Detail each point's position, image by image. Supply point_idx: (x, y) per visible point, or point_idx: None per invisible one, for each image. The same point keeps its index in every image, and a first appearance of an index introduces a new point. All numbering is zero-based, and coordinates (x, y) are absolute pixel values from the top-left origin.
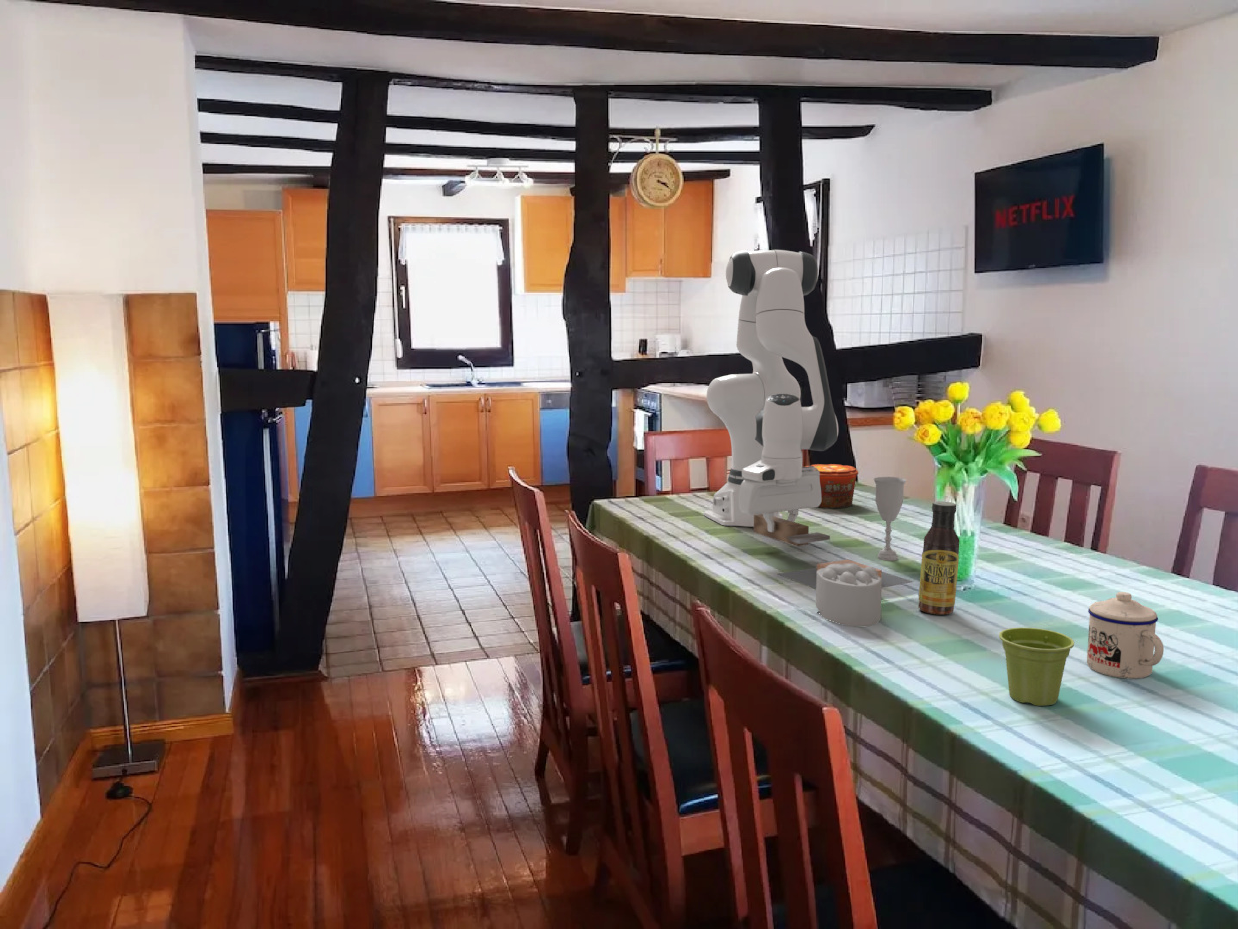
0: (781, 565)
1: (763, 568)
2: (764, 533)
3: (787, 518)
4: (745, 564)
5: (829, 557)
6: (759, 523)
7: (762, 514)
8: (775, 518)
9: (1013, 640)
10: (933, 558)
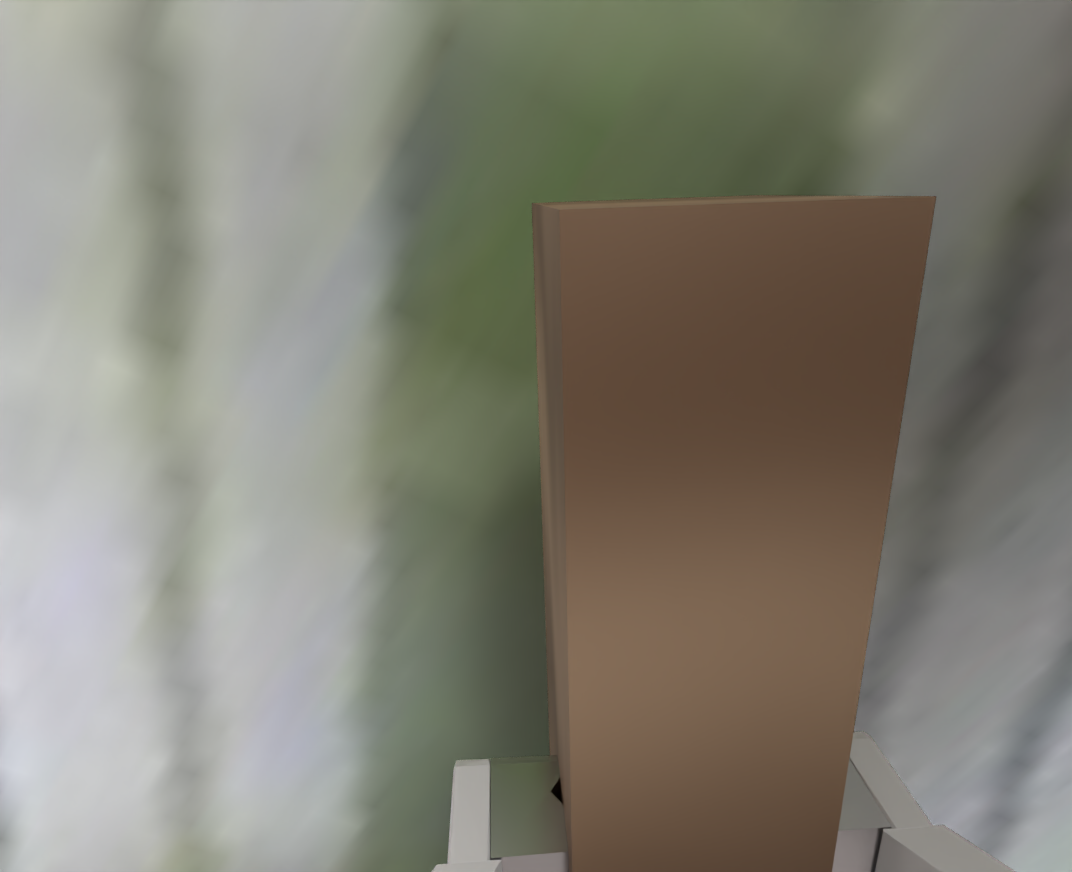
0: (454, 755)
1: (265, 773)
2: (542, 508)
3: (922, 864)
4: (170, 622)
5: (961, 706)
6: (552, 419)
7: (815, 265)
8: (750, 762)
9: None
10: None
